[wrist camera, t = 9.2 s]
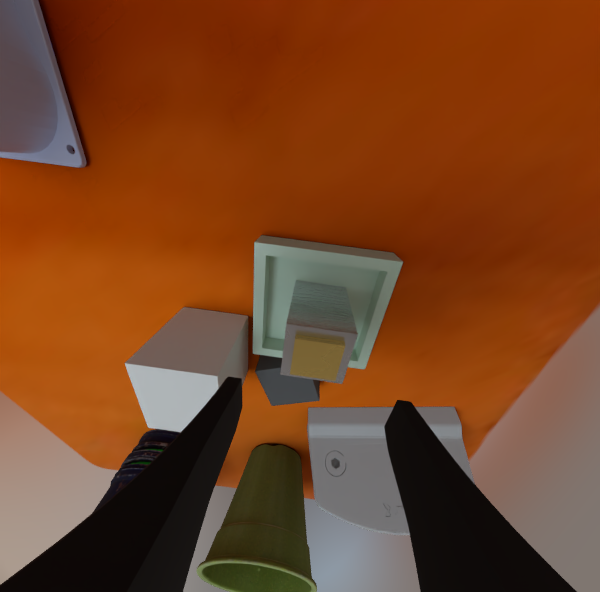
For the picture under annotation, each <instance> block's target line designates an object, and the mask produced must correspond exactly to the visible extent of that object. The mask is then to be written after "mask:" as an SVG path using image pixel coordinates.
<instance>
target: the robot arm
mask: <svg viewBox="0 0 600 592" xmlns="http://www.w3.org/2000/svg"><path fill="white" fill-rule="evenodd" d="M73 148H74V150H75V153H74V151H73ZM0 157H2V158H10V159H17V160H25V161H32V162H40V163H48V164H55V165H63V166H70V167H79V168H82V167H85V166H86V158H85V155H84V152H83V148H82V145H81V142H80V138H79V135H78V132H77V128H76V125H75V122H74V118H73V115H72V112H71V108H70V105H69V101H68V98H67V95H66V91H65V88H64V85H63V81H62V78H61V75H60V71H59V68H58V65H57V61H56V58H55V55H54V51H53V48H52V45H51V41H50V38H49V35H48V31H47V28H46V25H45V21H44V18H43V15H42V11H41V8H40V5H39V1H38V0H0ZM241 410H242V378H236V377H227V378H226V379H225V381H224V382H223V383H222V385H221V386H220V387H219V389H218V390H217V391H216V392H215V394H214V395H213V396H212V397H211V399H210V400H209V401H208V402H207V403H206V405H205V406H204V407H203V408H202V409H201V410H200V412H199V413H198V414H197V415H196V416H195V417H194V418H193V420H192V421H191V422H190V423H189V424H188V425H187V426H186V427H185V428H184V429H183V430H182V431H181V433H180V434H179V435H178V436H177V437H176V438H175V439H174V440H173V441H172V442H171V443H170V444H169V445H168V446H167V447H166V448H165V449H164V450H163V451H162V452H161V453H160V454H159V455H158V456H157V457H156V458H155V459H154V460H153V461H152V462H151V463H150V464H149V465H147V466H146V467H145V468H144V469H143V470H142V471H141V472H140V473H139V474H138V475H137V476H135V477H134V478H133V479H132V480H131V481H130V482H129V483H128V484H127V485H125V486H124V487H123V488H122V489H121V490H120V491H119V492H117V493H116V494H115V495H114V496H113V497H112V498H111V499H109V500H108V501H107V502H106V503H105V504H103V505H102V506H101V507H100V508H99V509H97V510H96V511H95V512H94V513H92V514H91V515H90V516H89V517H87V518H86V519H85V520H84V521H83V522H82V523H80V524H79V525H78V526H77V527H75V528H74V529H73V530H72V531H70V532H69V533H68V534H67V535H65V536H64V537H63V538H62V539H60V540H59V541H58V542H56V543H55V544H54V545H53V546H51V547H50V548H49V549H47V550H46V551H45V552H43V553H42V554H41V555H40V556H38V557H37V558H35V559H34V560H33V561H31V562H30V563H29V564H27V565H26V566H25V567H23V568H22V569H21V570H20V571H18V572H17V573H16V574H14V575H13V576H12V577H10V578H9V579H8V580H6V581H5V582H4V583H2V584H1V585H0V592H183V589H184V585H185V582H186V578H187V575H188V571H189V568H190V564H191V561H192V558H193V554H194V551H195V547H196V544H197V540H198V537H199V533H200V530H201V527H202V523H203V520H204V517H205V513H206V510H207V507H208V504H209V501H210V498H211V495H212V492H213V489H214V486H215V484H216V481H217V478H218V476H219V473H220V471H221V468H222V465H223V463H224V460H225V458H226V455H227V452H228V450H229V447H230V444H231V442H232V439H233V436H234V434H235V431H236V428H237V424H238V421H239V417H240V413H241ZM384 429H385V436H386V442H387V448H388V453H389V457H390V461H391V464H392V468H393V472H394V475H395V479H396V483H397V486H398V490H399V494H400V497H401V501H402V504H403V508H404V512H405V515H406V519H407V524H408V528H409V532H410V537H411V542H412V547H413V552H414V557H415V562H416V568H417V573H418V579H419V585H420V590H421V592H576V591H575V590H574V589H573V588H572V587H571V586H570V585H569V584H568V583H567V582H566V581H565V580H564V579H563V578H562V577H561V576H560V575H559V574H558V573H557V572H556V571H555V570H554V569H553V568H552V567H551V566H550V565H549V564H548V563H547V562H546V561H545V560H544V559H543V558H542V557H541V556H540V555H539V554H538V553H537V552H536V551H535V550H534V549H533V548H532V547H531V546H530V545H529V544H528V543H527V541H526V540H525V539H524V538H523V537H522V536H521V535H520V534H519V533H518V532H517V531H516V530H515V529H514V528H513V527H512V526H511V525H510V523H509V522H508V521H507V520H506V519H505V518H504V517H503V516H502V515H501V514H500V513H499V511H498V510H497V509H496V508H495V507H494V506H493V505H492V504H491V503H490V501H489V500H488V499H487V498H486V497H485V496H484V495H483V494H482V492H481V491H480V490H479V489H478V488H477V487H476V485H475V484H474V483H473V482H472V480H471V479H470V478H469V477H468V476H467V474H466V473H465V472H464V471H463V470H462V468H461V467H460V466H459V465H458V463H457V462H456V461H455V460H454V458H453V457H452V456H451V454H450V453H449V452H448V451H447V449H446V448H445V447H444V445H443V444H442V443H441V442H440V440H439V439H438V438H437V436H436V435H435V434H434V432H433V431H432V430H431V428H430V427H429V426H428V424H427V423H426V422H425V420H424V419H423V418H422V416H421V415H420V413H419V412H418V411H417V409H416V408H415V407H414V405H413V404H412V403H411V402H409V401H402V400H397V402H396V404H395V406H394V408H393V410H392V412H391V414H390V416H389V418H388V420H387V422H386V424H385V426H384Z"/></svg>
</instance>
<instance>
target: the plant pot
mask: <svg viewBox="0 0 600 592" xmlns="http://www.w3.org/2000/svg"><path fill="white" fill-rule="evenodd" d="M197 574H198V576H199V577H200V578H201V579H202V580H204V581H205V582H207V583H209V584H211V585H213V586H215V587H218V588H220V589H223V590H226V591H229V592H316V591H317V586H316V583H315V582H314V580H313V579H312V576H311V566H310V554H309V547H308V545H307V536H306V525H305V510H304V494H303V480H302V465H301V459H300V456H299V455H298V454H297V453H296V452H295V451H294V450H292V449H290V448H288V447H286V446H283V445H276V446H270V445H268V444H264V445H261V446H258V447H256V448H255V449H254V450H253V451H252V453H251V455H250V457H249V460H248V462H247V465H246V467H245V470H244V472H243V475H242V477H241V480H240V482H239V485H238V487H237V489H236V492H235V494H234V497H233V499H232V502H231V504H230V507H229V510H228V512H227V514H226V517H225V519H224V522H223V524H222V526H221V529H220V530H219V531H218V532H217V534H216V537H215V539H214V541H213V544H212V546H211V548H210V551H209V553H208V555H207V557H206V560H205V561H204V562H202V563H201V564H200V565H199V566H198V568H197Z"/></svg>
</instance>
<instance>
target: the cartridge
mask: <svg viewBox="0 0 600 592" xmlns="http://www.w3.org/2000/svg"><path fill="white" fill-rule="evenodd" d="M357 336H358V333H357V329H356V325H355V321H354V317H353V313H352V310H351V306H350V302H349V298H348V294H347V290H346V287H341V286H334V285H327V284H320V283H313V282H306V281H299V280H296V282H295V286H294V291H293V295H292V300H291V304H290V309H289V314H288V318H287V323H286V330H285V339H284V347H283V356H282V365H281V373H280V375H286V376H293V377H299V378H306V379H313V380H320V381H327V382H334V383H340V384H342V383H343V380H344V377H345V374H346V370H347V367H348V364H349V361H350V358H351V355H352V351H353V348H354V345H355V342H356V339H357Z"/></svg>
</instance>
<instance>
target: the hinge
mask: <svg viewBox="0 0 600 592" xmlns="http://www.w3.org/2000/svg"><path fill="white" fill-rule="evenodd" d="M393 408H394V407H333V408H308V425H307V432H308V441H309V451H310V460H311V469H312V478H313V488H314V497H315V500H316V503H317V505H318V506H319V507H320V508H321V509H322V510H323V511H325V512H327V513H328V514H330V515H332V516H334V517H336V518H338V519H340V520H342V521H344V522H346V523H349V524H351V525H354V526H357V527H360V528H363V529H366V530H370V531H375V532H380V533H385V534H394V535H410V532H409V528H408V524H407V519H406V515H405V512H404V508H403V504H402V501H401V497H400V494H399V490H398V486H397V483H396V479H395V475H394V472H393V468H392V464H391V461H390V457H389V453H388V448H387V442H386V436H385V429H384V426H385V424H386V422H387V420H388V418H389V416H390V414H391V412H392V410H393ZM415 408H416V409H417V411H418V412H419V413H420V415H421V416H422V418H423V419H424V420H425V422H426V423H427V424H428V426H429V427H430V428H431V430H432V431H433V432H434V434H435V435H436V436H437V438H438V439H439V440H440V442H441V443H442V444H443V445H444V447H445V448H446V449H447V451H448V452H449V453H450V454H451V456H452V457H453V458H454V460H455V461H456V462H457V463H458V465H459V466H460V467H461V468H462V470H463V471H464V472H465V473H466V474H467V476H468V477H469V478H470V479H471V480H472V482H473V483H474V480H473V476H472V472H471V468H470V465H469V461H468V457H467V454H466V450H465V446H464V443H463V439H462V426H461V422H460V420H459V417H458V415H457V412H456V410H455V407H415ZM474 484H475V483H474Z"/></svg>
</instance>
